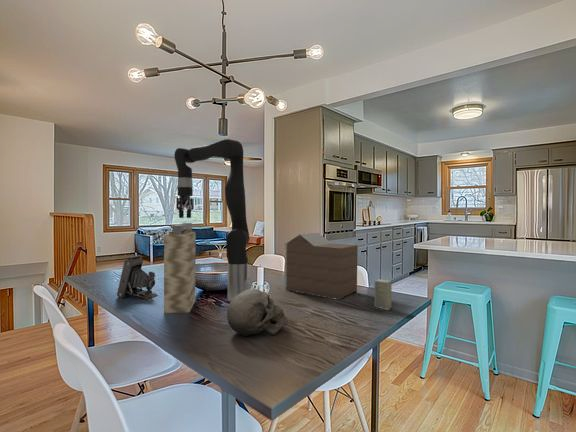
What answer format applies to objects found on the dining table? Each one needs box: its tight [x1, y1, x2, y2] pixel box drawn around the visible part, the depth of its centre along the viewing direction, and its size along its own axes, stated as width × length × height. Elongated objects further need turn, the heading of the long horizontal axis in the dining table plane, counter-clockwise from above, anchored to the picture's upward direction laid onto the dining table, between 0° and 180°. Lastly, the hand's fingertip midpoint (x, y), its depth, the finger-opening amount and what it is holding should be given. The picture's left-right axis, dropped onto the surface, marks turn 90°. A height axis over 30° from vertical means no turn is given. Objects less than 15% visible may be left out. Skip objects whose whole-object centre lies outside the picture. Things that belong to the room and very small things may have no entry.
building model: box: [283, 232, 359, 300], centre depth 168 cm, size 19×34×30 cm, turn 54°
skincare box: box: [373, 278, 393, 309], centre depth 139 cm, size 6×4×12 cm
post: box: [163, 228, 197, 314], centre depth 137 cm, size 10×16×33 cm, turn 8°
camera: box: [116, 254, 159, 301], centre depth 153 cm, size 11×17×20 cm, turn 79°
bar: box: [172, 222, 193, 234], centre depth 141 cm, size 4×26×4 cm, turn 8°
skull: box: [226, 287, 288, 337], centre depth 109 cm, size 13×16×20 cm
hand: (185, 217), depth 166 cm, fingers open, 8 cm apart
